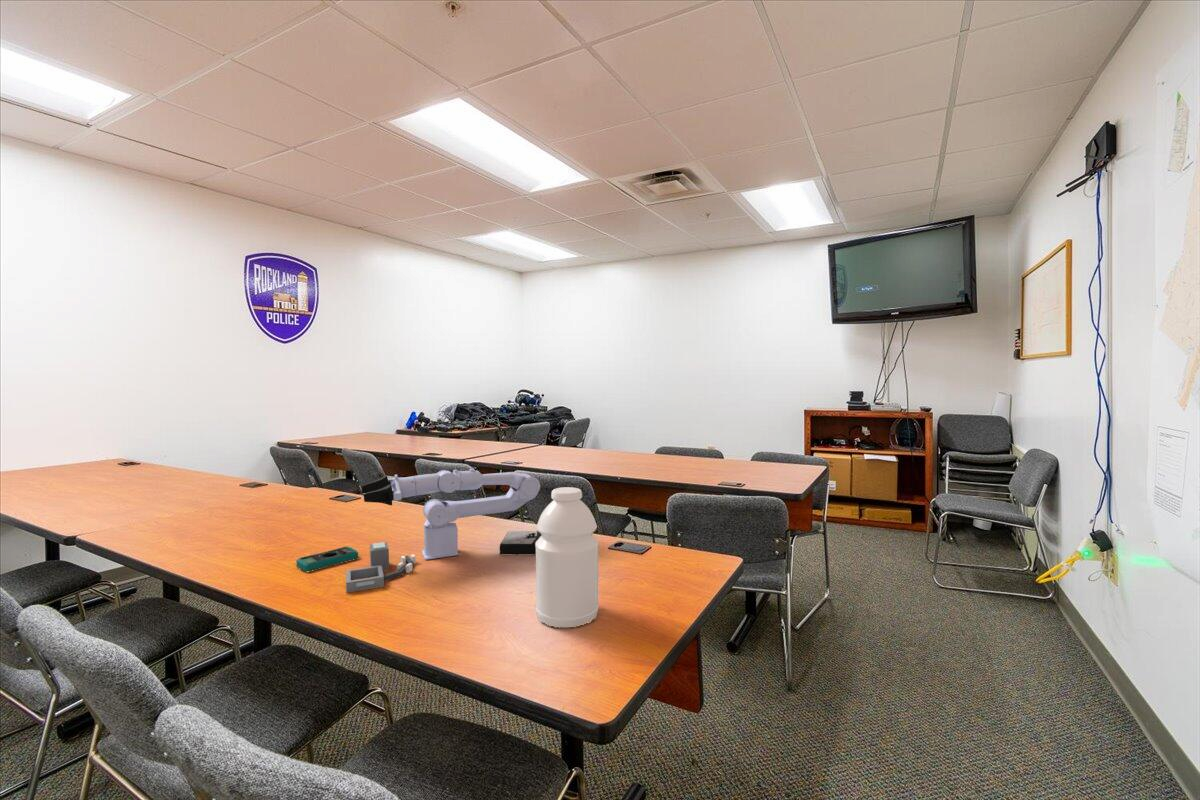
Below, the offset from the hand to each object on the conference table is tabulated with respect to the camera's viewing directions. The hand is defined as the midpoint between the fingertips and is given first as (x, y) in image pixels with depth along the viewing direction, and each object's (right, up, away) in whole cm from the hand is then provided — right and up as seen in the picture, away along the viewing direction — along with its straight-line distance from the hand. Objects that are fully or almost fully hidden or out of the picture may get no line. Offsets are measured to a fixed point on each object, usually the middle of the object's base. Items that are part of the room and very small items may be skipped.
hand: (362, 493), depth 144 cm
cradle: (+6, -21, -11) cm, 25 cm away
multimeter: (+46, -20, +16) cm, 53 cm away
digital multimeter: (-12, -21, +4) cm, 24 cm away
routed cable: (+11, -21, -2) cm, 23 cm away
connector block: (+5, -21, -1) cm, 21 cm away
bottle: (+59, -22, -29) cm, 69 cm away
